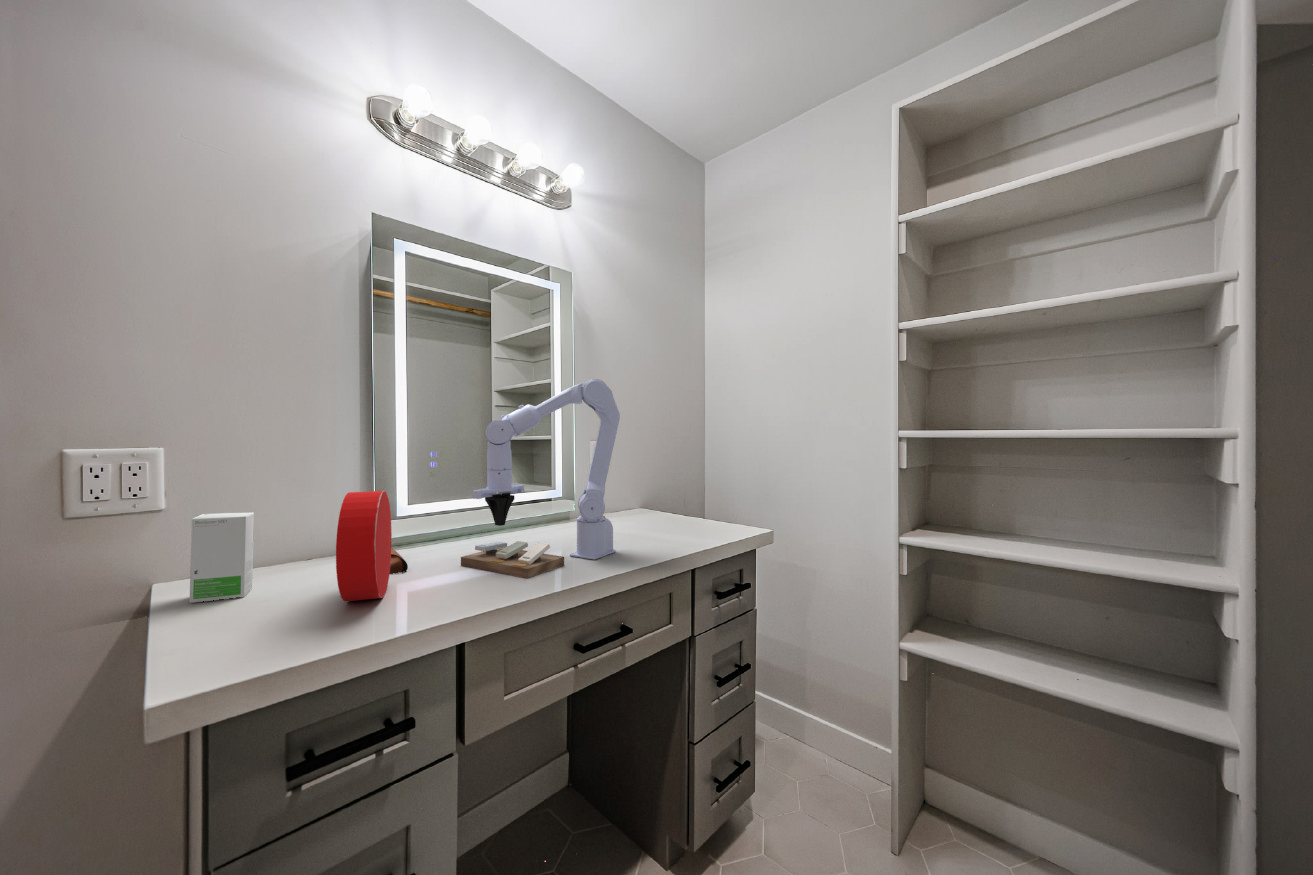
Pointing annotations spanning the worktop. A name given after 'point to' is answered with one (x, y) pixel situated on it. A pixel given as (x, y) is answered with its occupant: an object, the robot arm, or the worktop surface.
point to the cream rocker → (534, 553)
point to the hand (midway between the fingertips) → (500, 525)
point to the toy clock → (363, 545)
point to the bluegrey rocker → (490, 546)
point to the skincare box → (221, 556)
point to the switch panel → (511, 563)
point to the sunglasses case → (397, 563)
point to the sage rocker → (512, 549)
